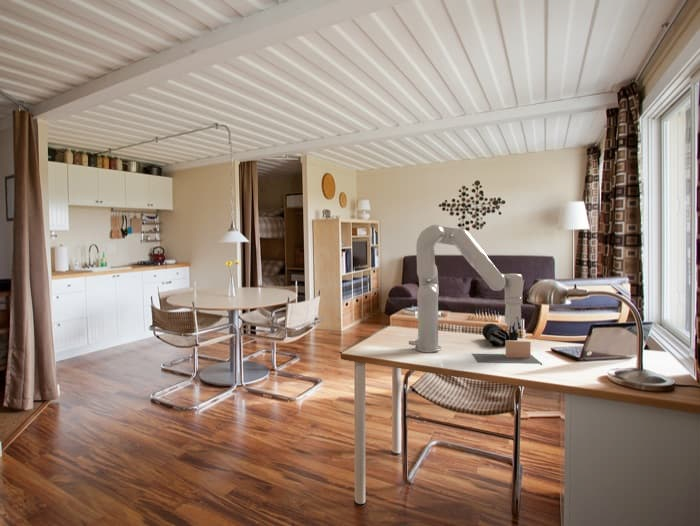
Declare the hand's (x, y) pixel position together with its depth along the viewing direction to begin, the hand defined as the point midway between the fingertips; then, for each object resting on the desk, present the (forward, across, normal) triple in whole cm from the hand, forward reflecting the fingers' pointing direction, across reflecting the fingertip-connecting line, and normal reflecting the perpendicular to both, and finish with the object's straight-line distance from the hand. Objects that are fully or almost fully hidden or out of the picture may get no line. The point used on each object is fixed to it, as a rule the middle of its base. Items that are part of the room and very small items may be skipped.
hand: (513, 340), depth 187 cm
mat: (+6, +10, -6) cm, 13 cm away
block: (+6, +7, 0) cm, 9 cm away
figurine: (+6, -20, -4) cm, 21 cm away
